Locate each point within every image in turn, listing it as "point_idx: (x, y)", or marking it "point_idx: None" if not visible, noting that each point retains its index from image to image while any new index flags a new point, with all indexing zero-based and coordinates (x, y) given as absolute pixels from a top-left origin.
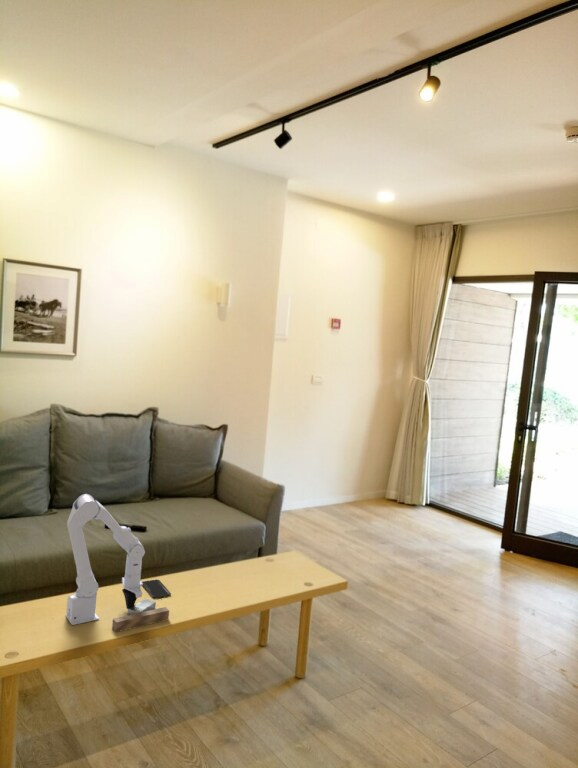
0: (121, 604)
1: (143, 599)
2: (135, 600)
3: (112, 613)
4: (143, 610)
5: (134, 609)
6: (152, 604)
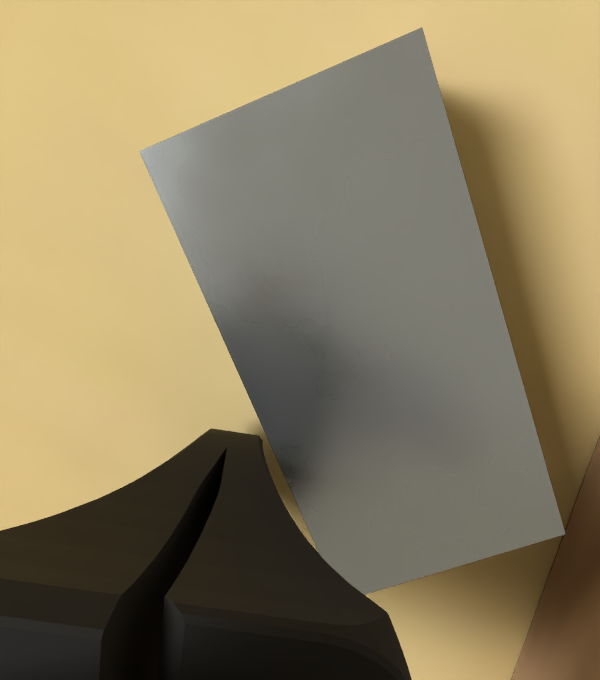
0: (3, 439)
1: (167, 206)
2: (283, 511)
3: None
4: (530, 428)
5: (423, 543)
6: (454, 158)
